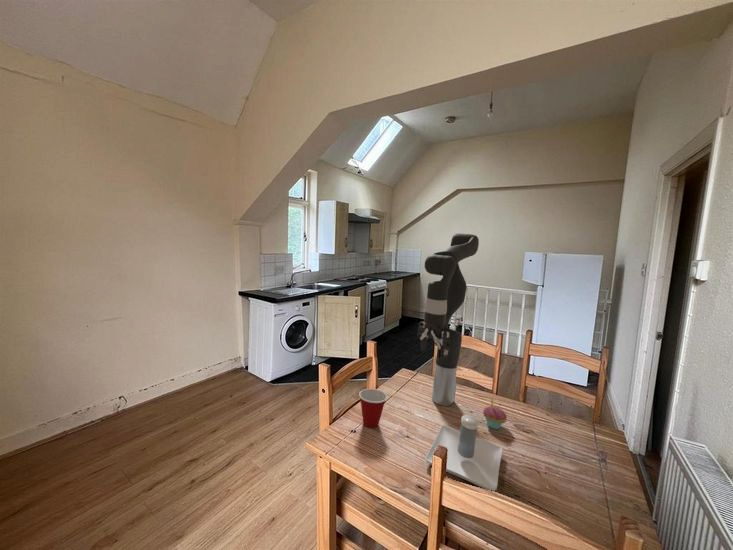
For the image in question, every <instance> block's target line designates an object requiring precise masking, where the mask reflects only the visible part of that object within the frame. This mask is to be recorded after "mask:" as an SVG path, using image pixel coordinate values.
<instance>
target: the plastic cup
mask: <svg viewBox="0 0 733 550" xmlns="http://www.w3.org/2000/svg"><path fill="white" fill-rule="evenodd" d="M358 396H359V398H360V399H359V400H360V406H361V416H362V423H363V426H365V427H366V428H368V429H375V428H377V427H378V426H379V425H380V420H381V417H382V413H383V410H384V407H385V403H386V401H387V399H388V395H387V393H385V392H384V391H382V390H380V389H375V388H365V389H362V390H361V391H359V394H358Z"/></svg>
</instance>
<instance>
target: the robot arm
mask: <svg viewBox="0 0 733 550" xmlns="http://www.w3.org/2000/svg"><path fill="white" fill-rule="evenodd" d="M479 240H480V239H479V237H478V236H477V235H475V234H471V233H469V234H468V233H454V234H453V235H452V238H451V240H450V246H449V247H446V248H445V249H443V250H442V251H437V252H434V253H431V254H429V255H428V256H427V257H426V259H425V260H424V269H425V271H426V273H428V274H430V275H435V276H442V278H441V279H440V280H434V281H429V283H428V285H427V292H426V301H425V304H424V305H425V306H424V316H423V321H419V322H418V326H417V333H416V336H417V337H418V338H419V339H420V350H421V351H426V350H427V346H428V338H430V339H432V340H433V341H434V345H435V346H436V347H437V354H436V357H435V366H434V376H433V385H432V392H431V393H432V395H431V400H432V401H433V403H435V404H437V405H438V406H442V407H449V406H451V405H453V403H454V402H455V398H456V390H457V380H456V379H457V378H456V377H457V368H458V363H459V359H460V353H461V348H462V341H463V340H462V339H463V338H462V334H461V332H459V330H455V329H453V328H452V329H451V328H448V327H449V324H450V320H451V318H452V317H453V315H454V314H455V313H456V312H457V311H458V310H459V309H460V307H462V305H463V304H464V302H465V299H466V294H467V282H466V280H465V278H464V277H465V276H464V275H463V273H462V270H461V269H460V265H459V263H460V262H462V261H463V260H465V259H467V258H470V257H472V256H474V255H476V254H477V252H478V250H479V244H480V243H479V242H480V241H479ZM445 350H446V351H447V353H446V354H445Z"/></svg>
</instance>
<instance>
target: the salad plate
mask: <svg viewBox="0 0 733 550" xmlns="http://www.w3.org/2000/svg"><path fill="white" fill-rule="evenodd" d="M459 436H460V429H456V428H453V427H451V426H449V425H445V424H442V425H441V426H440V428H439V431H438V432H437V434H436V436H435V439H434V441H433V443H432V445H431V447H430V448H429V450H428V451H427V454H426V455H425V458H424V459H425V461H426V463H428V465H430V466H432V465H431V464H432V456H433V452H434V451H435V448H436V447H437V446H438V445H442V446H445V447H447V449H448V460H447V471H446V472H447V473H450V474H451V475H454V476H455V477H458V478H461V479H463V480H466V481H467V482H469V483H470V484H471V483H472V484H474V485H475V486H478V487H480V488H482V489H484V490H486V489H487V490H486V491H489V490H492V491H491V492H495V491H497V488H498V483H499V473H500V466H501V463H502V462H501V461H502V457H503V451H504V450H503V447H502V446H500V445H498V444H496V443H493V442H491V441H487V440H485V439H482V438H480V437H478V436H476V442H475V449H474V456H473V457H472V458H465V457H463V456H461V455H460V454H459V453H458V444H459Z"/></svg>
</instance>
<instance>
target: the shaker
mask: <svg viewBox="0 0 733 550" xmlns="http://www.w3.org/2000/svg"><path fill="white" fill-rule="evenodd" d="M460 420H461V421H460V428H459V431H460V436H459V444H458V453H459V454H460V455H461V456H463V457H465V458H472V457H473V456H474V449H475V442H476V437H477V433H478V427H479V420H478V419H477V418H476V417H475V416H473V415H470V414H464V415H462V416H461V418H460Z"/></svg>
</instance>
